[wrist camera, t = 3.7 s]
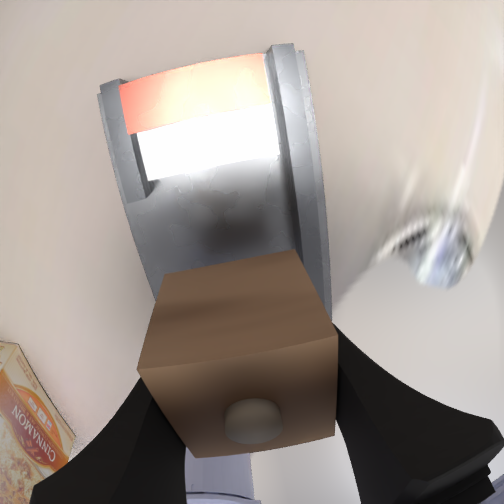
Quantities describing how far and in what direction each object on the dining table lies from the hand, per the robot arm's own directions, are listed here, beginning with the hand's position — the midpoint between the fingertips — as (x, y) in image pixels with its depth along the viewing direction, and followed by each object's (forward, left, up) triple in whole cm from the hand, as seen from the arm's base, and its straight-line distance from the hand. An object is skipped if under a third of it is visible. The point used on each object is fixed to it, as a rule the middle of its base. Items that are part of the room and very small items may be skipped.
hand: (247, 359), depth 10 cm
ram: (+8, 0, -8) cm, 11 cm away
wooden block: (0, 0, -2) cm, 2 cm away
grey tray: (+2, 0, -9) cm, 9 cm away
